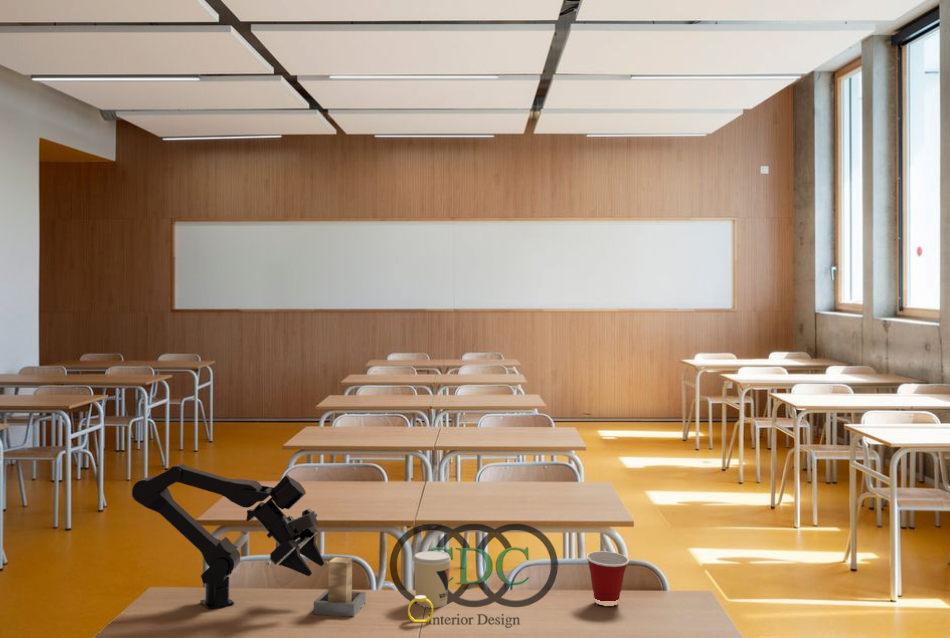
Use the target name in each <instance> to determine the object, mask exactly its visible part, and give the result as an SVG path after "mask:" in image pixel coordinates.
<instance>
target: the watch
mask: <svg viewBox="0 0 950 638" xmlns="http://www.w3.org/2000/svg"><path fill="white" fill-rule="evenodd" d="M416 601H419V602H421V601H426V602H428V603H429V604H430V606H431V608H430V609H431V612H430V615H429V616H428V617H427V618H426V619H415V618H414V617H413V616H412V615H411V610H410V609H411V607H412V605H413V604H414V603H416ZM407 614H408V618H409V619H410V620H411V621H412V622H413V623H415V624H417V623H428V622H429V621H431V620H432V618H433V615H434V608H433V605H432V603H431V601H430V600H428V599H427V598H426V596H424V595H418V596H416V595H415V596H414V598H413V599H412V600H411V601H410V602H409V604H408V607H407Z"/></svg>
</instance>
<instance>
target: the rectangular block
mask: <svg viewBox="0 0 950 638" xmlns="http://www.w3.org/2000/svg"><path fill="white" fill-rule="evenodd" d="M327 590H328V601H332V602H348V603H351V602H352V591H353V558H352V557H350V558H349V557H336V556H335V557H333V558H332V559H330V560H329V561H328V589H327Z"/></svg>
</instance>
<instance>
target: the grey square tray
mask: <svg viewBox="0 0 950 638" xmlns="http://www.w3.org/2000/svg"><path fill="white" fill-rule="evenodd" d="M366 593H367V592H366V591H358V590H356V591H354V590H352V602H351V603H348V602H332V601H328V589H326V590H325V591H324V592H323V593H322V594H321V595H319V596H318V597H317V598H316V599H315V600H314V601H313V615H317V616H318V615H319V616H323V615H324V616H334V615H336V616H337V615H338V616H337V617H349V616H354V617H355V616H356V615H357V614H358V613H359V612H358V610H359V609H360V608H361V606H362V605H363V604H364V603H365V601H366V596H367V595H366ZM365 604H366V603H365ZM361 609H362V608H361ZM361 609H360V610H361ZM357 612H358V613H357ZM356 613H357V614H356ZM355 614H356V615H355Z"/></svg>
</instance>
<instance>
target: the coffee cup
mask: <svg viewBox="0 0 950 638" xmlns="http://www.w3.org/2000/svg"><path fill="white" fill-rule="evenodd" d="M413 565H414V567H413V568H414V570H413V571H414V585H415V586H414V587H415V596H418V595H424V596H426V598H427V599H428V600H430V601H431V603H432V605H433V609H435V608H442V607H444V606H447V603H448V592H449V581H450V580H449V579H450V566H451V556H450V554H449V553H447V552H444V551H439V550H425V551H419V552H417V553H416V554H414V556H413ZM416 602H417V603H418V604H420V605H422V606H426V607H428V608H427V609H432V608H431V606H430V604H429V603H428V602H426V601H421V602H419V601H415V603H416ZM417 603H416V604H417ZM426 607H425V608H426Z"/></svg>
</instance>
